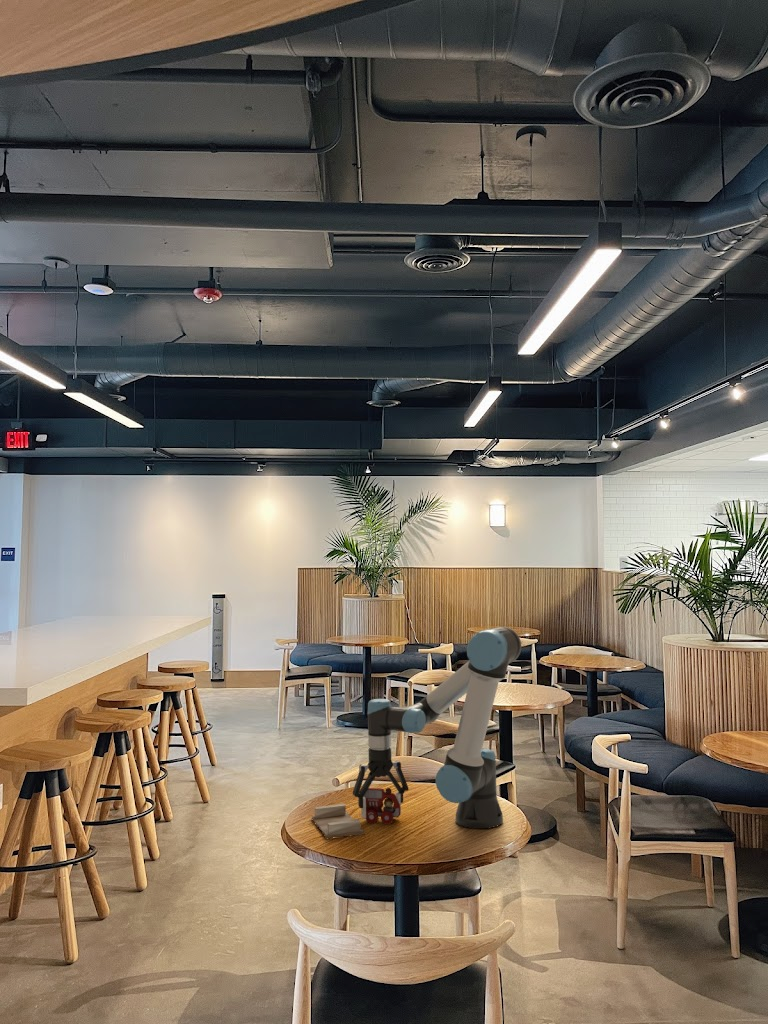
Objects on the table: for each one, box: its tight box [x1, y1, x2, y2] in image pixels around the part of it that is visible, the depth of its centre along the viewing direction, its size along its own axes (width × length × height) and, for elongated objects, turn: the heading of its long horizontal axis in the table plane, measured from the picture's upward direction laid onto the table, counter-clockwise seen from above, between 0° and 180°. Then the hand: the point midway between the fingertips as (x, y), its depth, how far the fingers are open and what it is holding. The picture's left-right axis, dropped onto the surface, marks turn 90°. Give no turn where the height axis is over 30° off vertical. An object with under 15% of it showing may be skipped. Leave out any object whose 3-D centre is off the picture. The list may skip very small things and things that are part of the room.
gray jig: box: [311, 803, 365, 839], centre depth 245 cm, size 20×12×4 cm, turn 19°
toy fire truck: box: [364, 787, 401, 825], centre depth 250 cm, size 7×12×10 cm, turn 80°
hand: (381, 815), depth 250 cm, fingers closed on toy fire truck, 11 cm apart
